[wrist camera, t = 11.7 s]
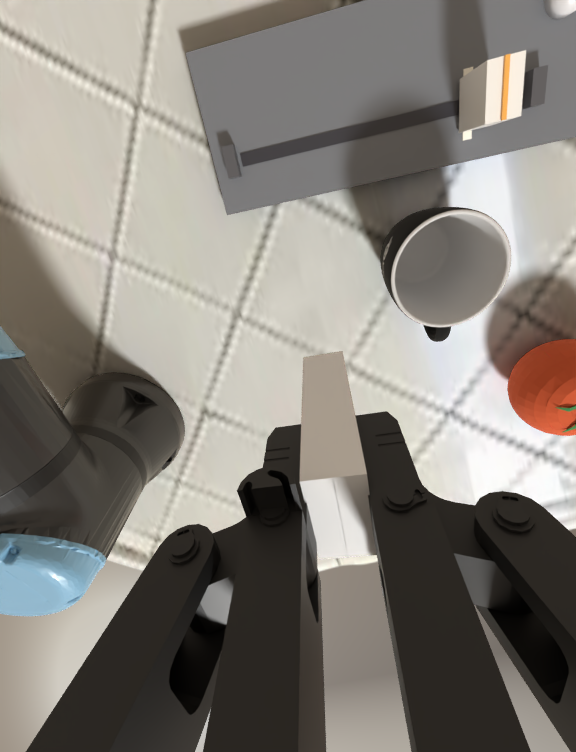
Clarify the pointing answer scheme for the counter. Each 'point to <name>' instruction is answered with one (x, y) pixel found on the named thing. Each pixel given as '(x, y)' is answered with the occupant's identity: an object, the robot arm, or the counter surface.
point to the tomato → (546, 387)
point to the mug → (445, 266)
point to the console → (376, 93)
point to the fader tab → (492, 92)
